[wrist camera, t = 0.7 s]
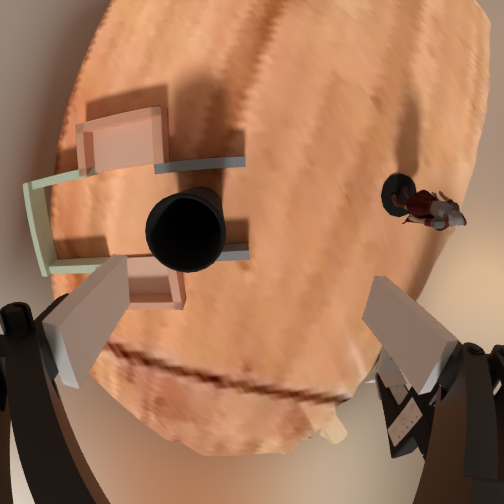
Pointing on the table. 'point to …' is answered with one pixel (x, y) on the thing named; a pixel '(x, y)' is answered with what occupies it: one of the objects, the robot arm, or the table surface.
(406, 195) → the figurine
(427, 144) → the table surface
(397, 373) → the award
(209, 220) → the cup
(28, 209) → the track
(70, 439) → the robot arm
